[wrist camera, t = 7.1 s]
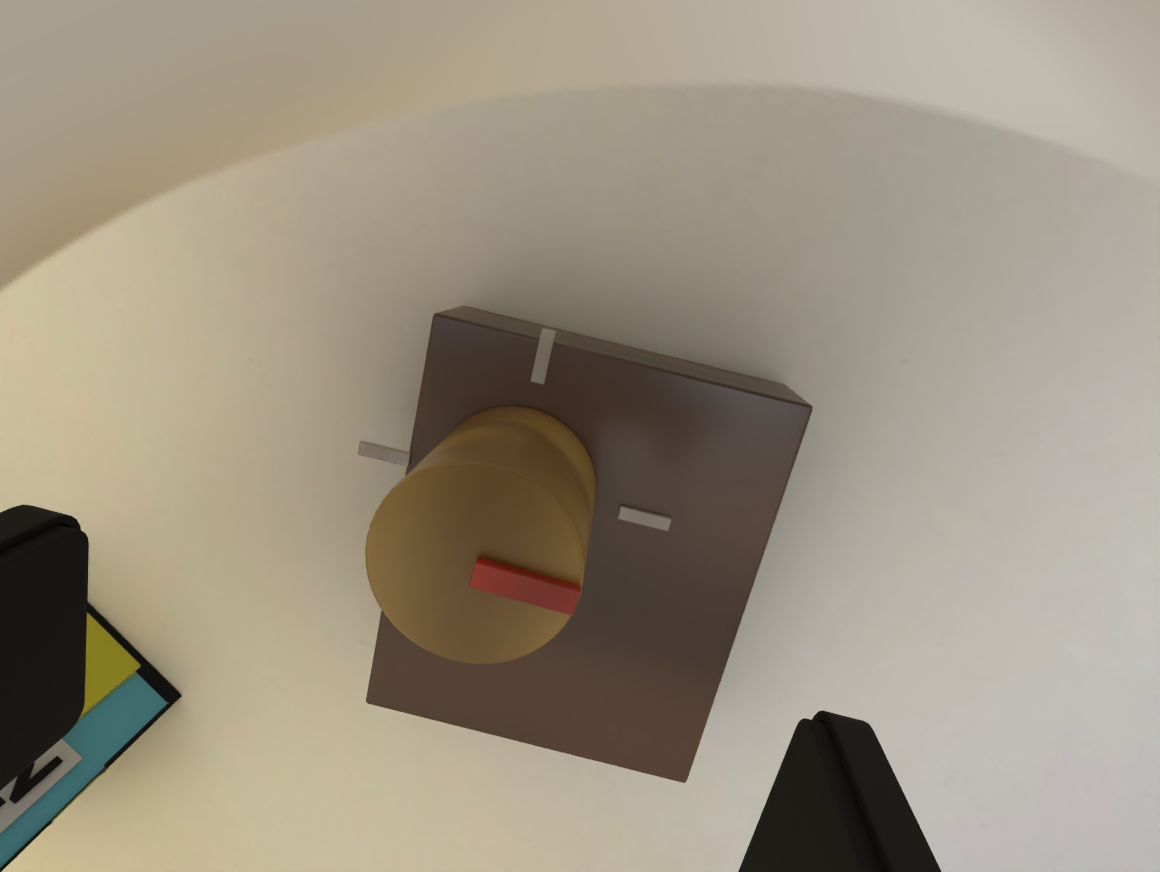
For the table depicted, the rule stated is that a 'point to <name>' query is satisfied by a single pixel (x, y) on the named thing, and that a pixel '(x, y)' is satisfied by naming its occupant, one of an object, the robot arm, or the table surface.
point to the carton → (85, 736)
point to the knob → (486, 538)
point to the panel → (610, 539)
